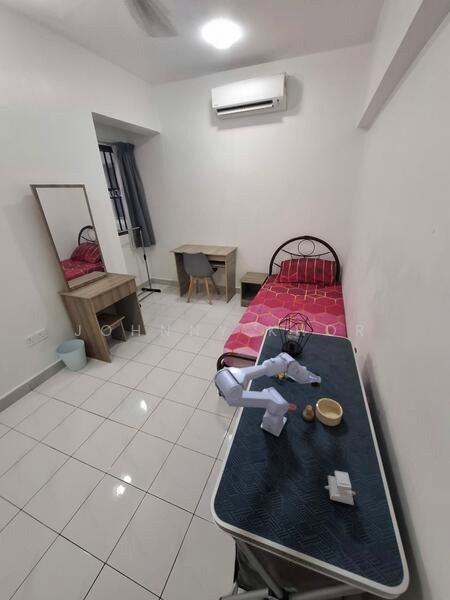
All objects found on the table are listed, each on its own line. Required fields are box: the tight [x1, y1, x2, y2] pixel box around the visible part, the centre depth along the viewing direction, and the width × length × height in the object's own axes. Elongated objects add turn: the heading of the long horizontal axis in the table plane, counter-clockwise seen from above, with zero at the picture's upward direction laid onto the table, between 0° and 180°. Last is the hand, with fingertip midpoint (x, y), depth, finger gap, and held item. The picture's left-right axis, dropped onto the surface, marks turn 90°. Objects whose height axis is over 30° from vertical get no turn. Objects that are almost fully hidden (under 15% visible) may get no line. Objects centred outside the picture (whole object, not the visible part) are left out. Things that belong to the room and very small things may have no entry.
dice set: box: [274, 372, 288, 381], centre depth 124 cm, size 5×5×2 cm
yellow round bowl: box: [315, 397, 343, 427], centre depth 101 cm, size 10×10×4 cm
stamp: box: [324, 470, 357, 506], centre depth 75 cm, size 9×7×8 cm
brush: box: [302, 404, 315, 422], centre depth 101 cm, size 4×4×6 cm
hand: (310, 383), depth 103 cm, fingers open, 7 cm apart
